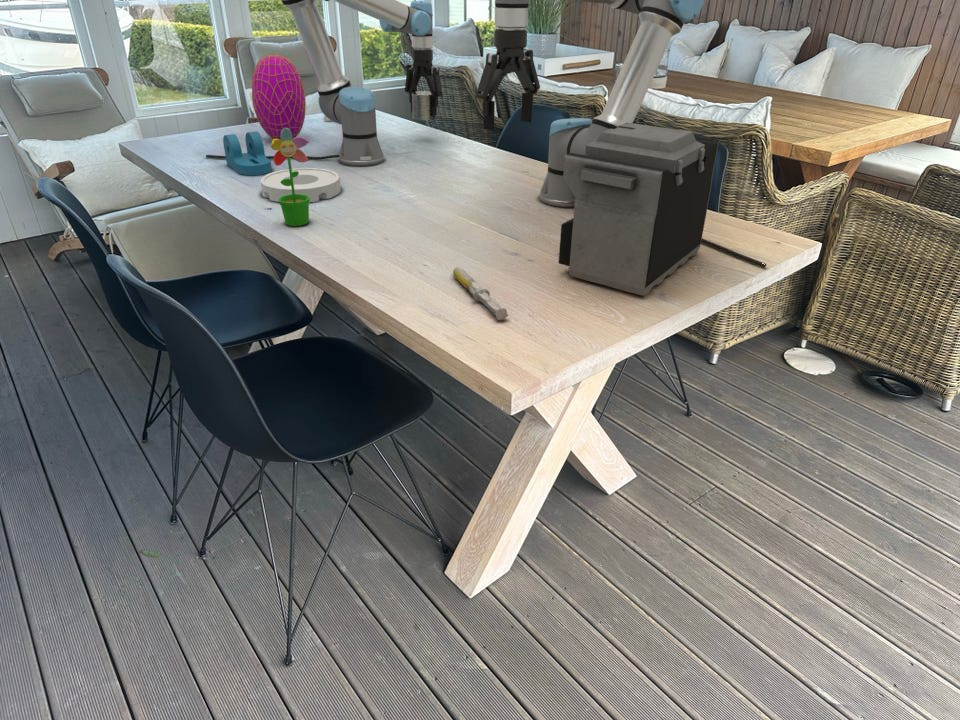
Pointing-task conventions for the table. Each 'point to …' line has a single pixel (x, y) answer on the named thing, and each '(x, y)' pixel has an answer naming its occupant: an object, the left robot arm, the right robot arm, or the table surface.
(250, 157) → the camera mount
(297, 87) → the decorative egg
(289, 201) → the potted flower
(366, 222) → the table surface
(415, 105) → the can
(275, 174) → the white notched ring base
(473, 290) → the syringe
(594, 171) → the grey cooler box
